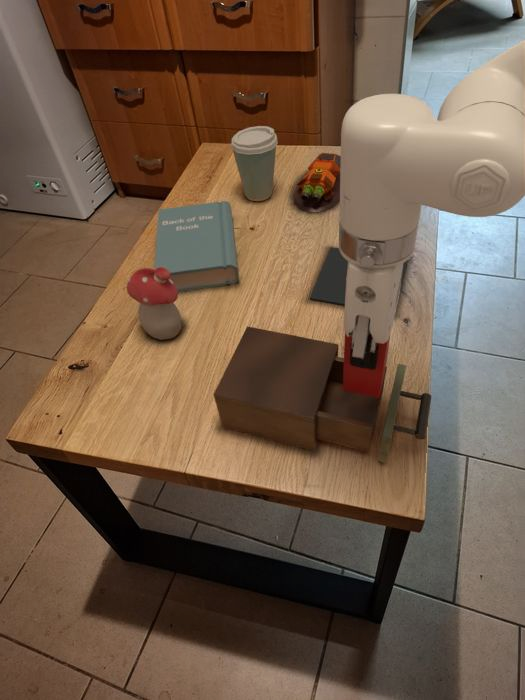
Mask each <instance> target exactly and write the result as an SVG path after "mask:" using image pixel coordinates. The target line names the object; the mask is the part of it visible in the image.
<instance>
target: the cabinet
mask: <svg viewBox="0 0 525 700" xmlns="http://www.w3.org/2000/svg"><path fill="white" fill-rule="evenodd" d="M336 356H337V357H339V343H334V342H328V341H323V340H318V339H313V338H309V337H304V336H298V335H293V334H288V333H283V332H278V331H273V330H268V329H262V328H257V327H252V326H246V327H245V330H244V332H243V334H242V336H241V338H240V340H239V343H238V344H237V346H236V348H235V350H234V352H233V354H232V355H231V358H230V360H229V362H228V364H227V366H226V368H225V370H224V372H223V374H222V377H221V378H220V379H219V382H218V385H217V386H216V389H215V390H214V393H213V398H214V401H215V404H216V408H217V412H218V415H219V420H220V423H221V426H222V428H224V429H228V430H232V431H235V432H240V433H243V434H248V435H251V436H254V437H255V436H256V437H259V438H262V439H266V440H270V441H274V442H277V443H281V444H285V445H289V446H293V447H296V448H301V449H304V450H307V451H311V452H315V451H316V448H317V445H318V441H319V439H316V416H317V412H318V409H319V406H320V403H321V400H322V397H323V394H324V391H325V388H326V385H327V382H328V378H329V375H330V372H331V369H332V366H333V363H334V360H335V357H336Z"/></svg>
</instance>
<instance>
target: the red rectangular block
mask: <svg viewBox="0 0 525 700" xmlns="http://www.w3.org/2000/svg"><path fill="white" fill-rule="evenodd" d="M352 334H353V333H352ZM371 339H372V337H371V336H368V337H367V341H371ZM390 339H391V335H390V336H389V339H388V341H387V342H385V343H384V344H382V343H376V346H379V347H378V355H377V364H376V368H375V369H374V370H371V369H366V368H359V367H356V366H352V365H350V351H351V342H352V336H350V337H347V335H346V334H345V333H344V344H343V345H344V346H343V347H344V348H343V358H344V371H343V390H344V391H348V392H353V393H358V394H362V395H367V396H372V397H376V398H380V393H381V389H382V385H383V381H384V375H385V368H386V367H387V360H388V354H389V352H388V351H389V346H390ZM384 382H385V381H384Z"/></svg>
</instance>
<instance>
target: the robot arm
mask: <svg viewBox="0 0 525 700" xmlns="http://www.w3.org/2000/svg"><path fill="white" fill-rule="evenodd" d="M340 156H341V168H340V201H339V218H338V222H339V223H338V248H339V250H340V253H341V255H342V256H343V257H344V258H345V259H346V260H347V261H348V268H347V277H346V294H345V306H344V312H343V313H344V315H343V316H344V317H343V318H344V319H343V328H344V335H345V334H346V335H347V337H350V336H352V342H351V351H350V365H352V366H356V367H359V368H366V369H371V370H374V369H375V368H376V364H377V355H378V347H379V346H376V343H382V344H384V343H385V342H387V341H388V339H389V336H390V337H391V332H392V330H393V329H392V328H393V324H394V320H395V316H396V311H397V308H398V303H399V300H398V299H400V296H399V294H400V295H401V291H400V287H401V277H402V270H403V263H404V262H406V261H407V260H408V261H409V260H410V259H411V257H412V256H413V254H414V253H415V248H416V241H417V236H418V230H419V222H420V219H421V212H422V207H423V206H426V207H428V208H432V209H435V210H439V211H442V212H446V213H449V214H452V215H457V216H463V217H469V218H487V217H492V216H496V215H497V216H498V215H500V214H502V213H504V212H507V211H509V210H511V209H512V208H513V207H515V206H516V205H517V204H518V203H519V202H520V201H522V200H523V199H524V197H525V39H523V40H522V41H519V42H518V43H516V44H515V45H513V46H511V47H510V48H508V49H506V50H505V51H503V52H501V53H500V54H498V55H497V56H495V57H493V58H491V59H490V60H488V61H487V62H485V63H483V64H482V65H480V66H478V67H477V68H476V69H474V70H473V71H472V72H470V73H469V74H467V75H466V76H465V77H463V78H462V79H461V80H460V81H459V82H458V83H457V84H456V85H455V86H454V87H453V88H451V91H450V92H449V93H448V94H447V95H446V97H445V98H444V100H443V101H442V104H441V106H440V108H439V111H438V115H437V119H436V118H435V116H434V113H433V110H432V109H431V107H430V106H429V105H428V104H427V103H425V101H423V100H422V99H420V98H419V97H416V96H413V95H409V94H402V93H380V94H375V95H371V96H368V97H364V98H362V99H360V100H358V101H357V102H355V103H354V104H353V105H350V107H349V108H348V109H347V111H346V113H345V115H344V117H343V120H342V123H341V131H340ZM401 288H402V287H401ZM352 333H353V334H352ZM368 336H371V337H372V339H371V341H367V337H368Z"/></svg>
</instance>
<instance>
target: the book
mask: <svg viewBox="0 0 525 700" xmlns="http://www.w3.org/2000/svg"><path fill="white" fill-rule="evenodd" d="M157 211H158V212H157V223H156V224H157V226H156V238H155V250H154V251H155V252H154V267H153V269H154V270H155V269H157V268H159V267H163V268H166V269H167V270H168V271H169V272H170V277H169V279H170V280H171V281H172V282H173V283H174V285H175V286H176V288H177V290H178V293H179V292H186V291H193V290H194V291H195V290H200V289H201V290H202V289H207V288H208V289H209V288H217V287H223V286H227V285H230V286H231V285H236V283H238V282H239V281H240V278H239V267H238V258H237V247H236V239H235V230H234V229H235V228H234V219H233V212H232V205H231V203H230V202H229V201H227V200H221V201H220V202H219V201H212V202H204V203H198V204H197V203H196V204H190V205H182V206H174V207H166V208H159V209H158V210H157Z"/></svg>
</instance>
